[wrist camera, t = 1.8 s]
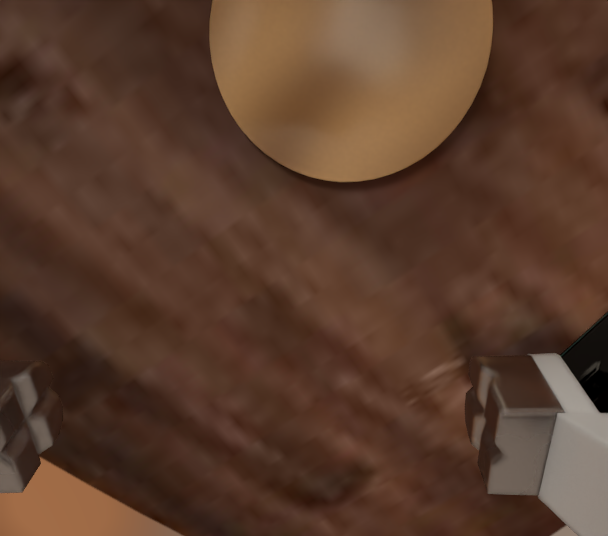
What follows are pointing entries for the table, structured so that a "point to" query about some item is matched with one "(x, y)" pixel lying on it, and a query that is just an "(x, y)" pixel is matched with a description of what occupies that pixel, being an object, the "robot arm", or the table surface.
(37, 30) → the table surface
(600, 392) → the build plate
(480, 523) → the table surface
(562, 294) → the table surface
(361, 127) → the mat
